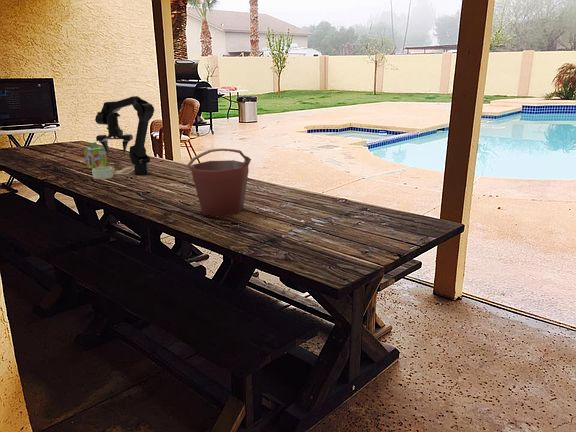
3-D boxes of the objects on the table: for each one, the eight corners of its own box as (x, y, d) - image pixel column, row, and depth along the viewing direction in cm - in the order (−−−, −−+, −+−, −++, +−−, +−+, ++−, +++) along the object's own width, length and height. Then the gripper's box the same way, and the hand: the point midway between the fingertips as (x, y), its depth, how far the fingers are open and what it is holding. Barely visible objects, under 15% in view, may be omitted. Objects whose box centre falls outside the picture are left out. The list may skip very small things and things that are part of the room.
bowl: (115, 175, 265) (114, 166, 263) (109, 179, 255) (107, 170, 254) (97, 175, 265) (96, 166, 263) (90, 179, 255) (89, 170, 254)
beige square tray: (133, 168, 280) (132, 160, 279) (126, 173, 268) (125, 164, 266) (111, 169, 280) (110, 160, 279) (102, 173, 268) (101, 165, 267)
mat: (136, 169, 281) (136, 168, 281) (127, 174, 267) (127, 173, 267) (110, 169, 282) (110, 168, 281) (100, 174, 267) (100, 174, 267)
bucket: (253, 203, 205) (251, 144, 198) (251, 218, 184) (248, 153, 177) (195, 204, 204) (191, 145, 197) (187, 220, 183) (181, 154, 176)
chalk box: (94, 169, 282) (90, 144, 277) (85, 168, 287) (82, 143, 283) (108, 167, 289) (105, 142, 284) (99, 165, 294) (96, 141, 290)
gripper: (134, 123, 274) (137, 150, 279) (101, 123, 274) (105, 151, 279) (127, 125, 263) (131, 153, 268) (94, 125, 264) (97, 154, 268)
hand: (116, 153), depth 271 cm, fingers open, 9 cm apart
